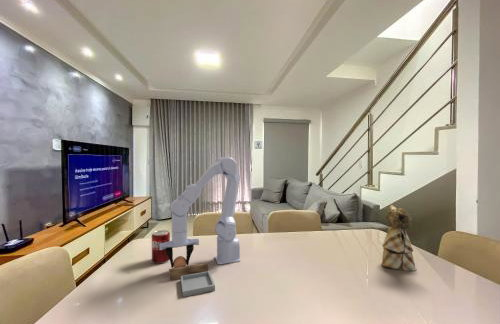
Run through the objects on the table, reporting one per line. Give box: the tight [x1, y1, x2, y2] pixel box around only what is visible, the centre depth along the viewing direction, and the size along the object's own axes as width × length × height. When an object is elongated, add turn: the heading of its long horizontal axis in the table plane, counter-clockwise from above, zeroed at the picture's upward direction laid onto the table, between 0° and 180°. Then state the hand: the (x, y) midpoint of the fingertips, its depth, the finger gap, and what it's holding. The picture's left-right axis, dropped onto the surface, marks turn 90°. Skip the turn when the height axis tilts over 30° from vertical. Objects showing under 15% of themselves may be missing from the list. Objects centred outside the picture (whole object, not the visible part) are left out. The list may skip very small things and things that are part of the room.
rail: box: [168, 262, 209, 281], centre depth 83 cm, size 14×1×4 cm, turn 111°
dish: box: [180, 270, 216, 298], centre depth 77 cm, size 10×10×2 cm
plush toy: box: [381, 204, 417, 272], centre depth 92 cm, size 14×14×25 cm
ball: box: [173, 255, 187, 268], centre depth 87 cm, size 5×5×5 cm
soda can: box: [151, 229, 171, 265], centre depth 96 cm, size 7×7×12 cm
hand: (179, 265), depth 87 cm, fingers closed on ball, 5 cm apart
